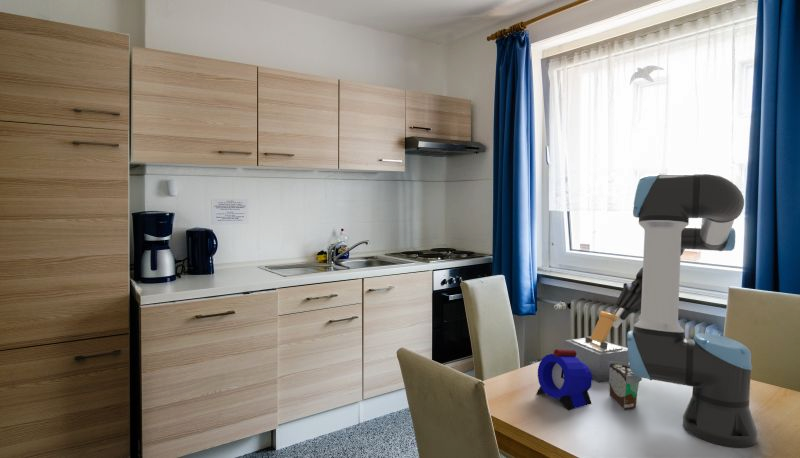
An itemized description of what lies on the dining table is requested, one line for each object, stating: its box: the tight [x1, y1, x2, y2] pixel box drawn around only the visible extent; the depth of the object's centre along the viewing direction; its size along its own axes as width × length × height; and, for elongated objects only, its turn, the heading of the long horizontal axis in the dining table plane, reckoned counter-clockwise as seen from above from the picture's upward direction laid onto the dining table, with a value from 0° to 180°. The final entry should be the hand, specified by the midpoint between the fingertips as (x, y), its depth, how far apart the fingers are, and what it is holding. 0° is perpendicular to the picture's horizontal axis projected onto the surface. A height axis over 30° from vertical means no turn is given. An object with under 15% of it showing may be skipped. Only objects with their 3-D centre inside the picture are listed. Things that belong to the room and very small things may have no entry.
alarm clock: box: [536, 349, 593, 411], centre depth 136 cm, size 12×12×15 cm
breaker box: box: [564, 335, 629, 384], centre depth 157 cm, size 12×16×11 cm
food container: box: [608, 361, 643, 411], centre depth 133 cm, size 12×6×10 cm, turn 179°
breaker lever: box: [590, 310, 617, 343], centre depth 157 cm, size 2×6×10 cm, turn 21°
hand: (613, 325), depth 159 cm, fingers closed
